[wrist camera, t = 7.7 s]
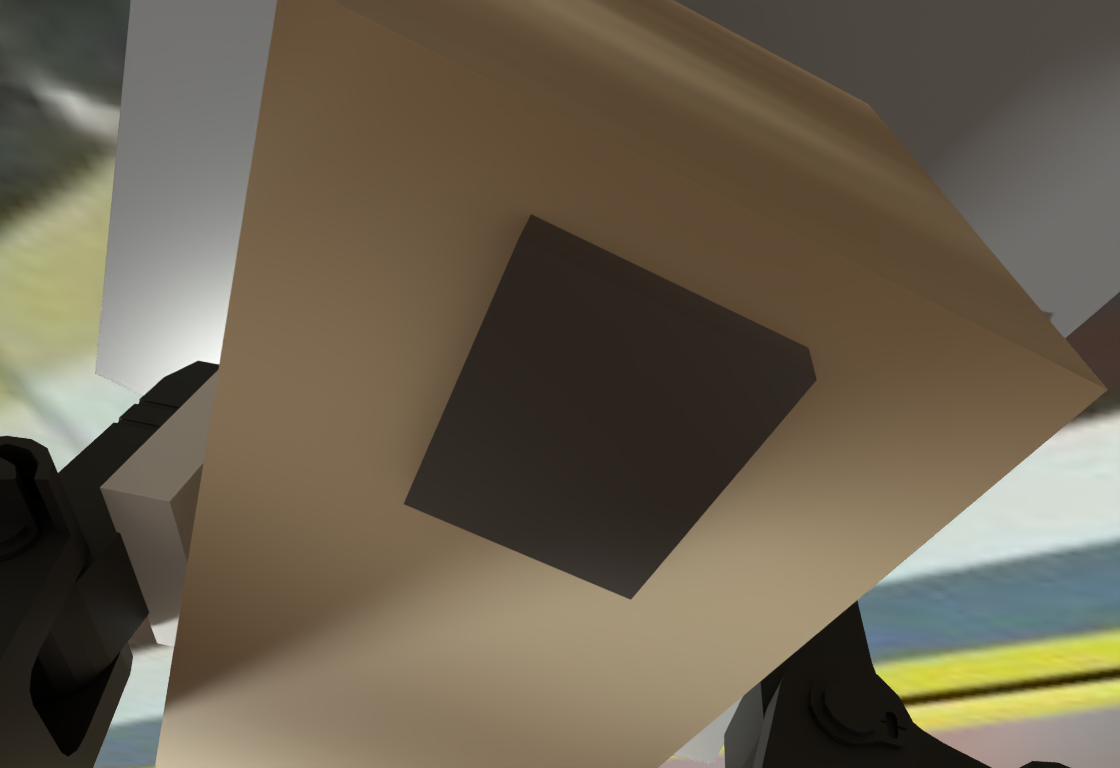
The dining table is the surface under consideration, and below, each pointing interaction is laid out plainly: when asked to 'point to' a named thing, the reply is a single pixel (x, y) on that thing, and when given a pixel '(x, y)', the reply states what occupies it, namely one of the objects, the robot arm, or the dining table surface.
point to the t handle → (571, 388)
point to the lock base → (735, 3)
